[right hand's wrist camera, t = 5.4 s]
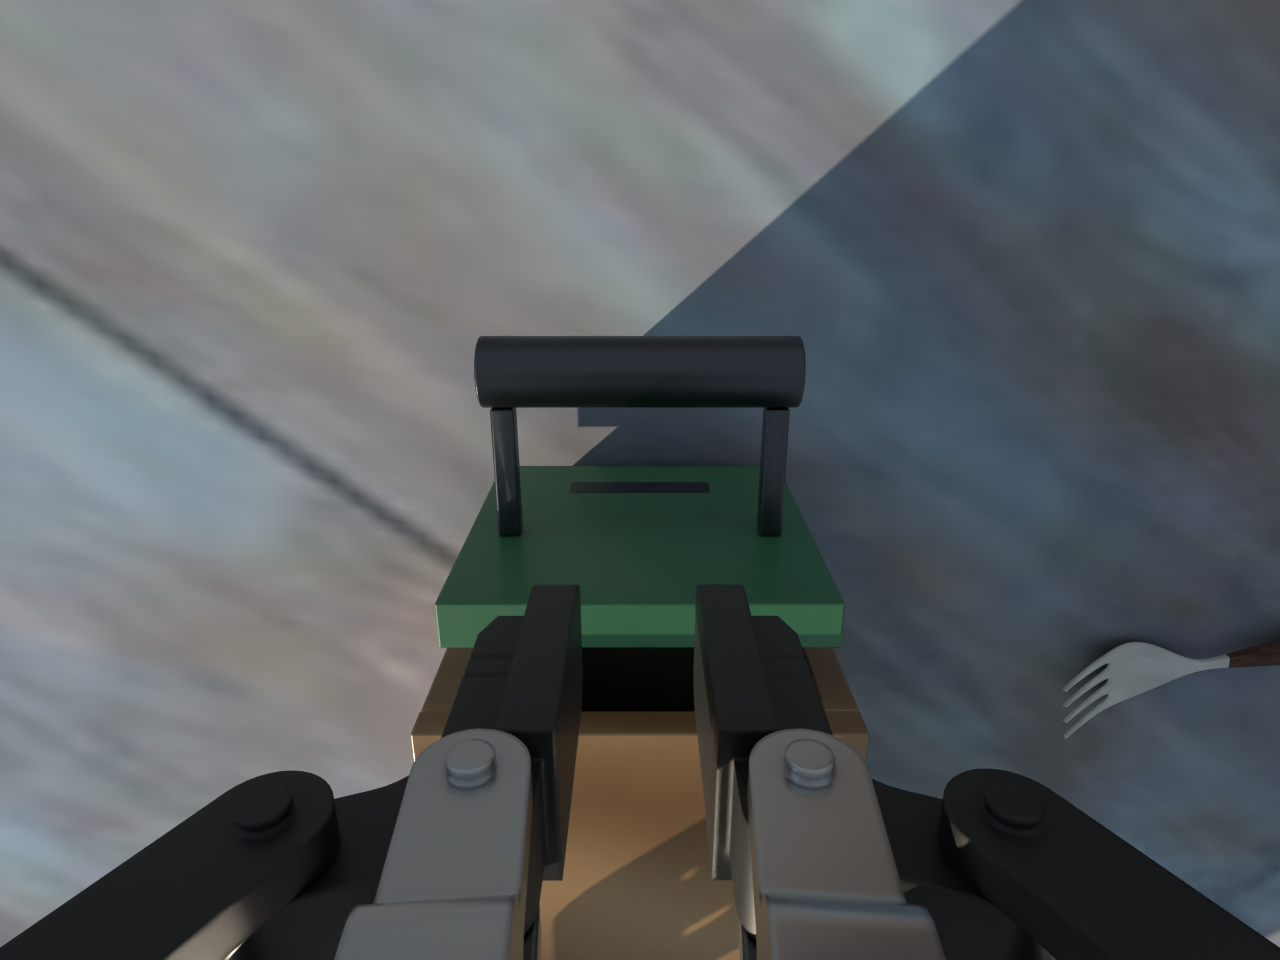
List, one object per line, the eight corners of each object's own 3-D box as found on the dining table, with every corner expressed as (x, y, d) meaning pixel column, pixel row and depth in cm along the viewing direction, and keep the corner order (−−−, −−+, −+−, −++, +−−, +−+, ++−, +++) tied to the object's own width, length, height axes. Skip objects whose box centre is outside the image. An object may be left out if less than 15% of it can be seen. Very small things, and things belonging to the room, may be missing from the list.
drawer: (490, 304, 25) (409, 372, 16) (788, 304, 25) (870, 371, 16) (524, 806, 32) (480, 1042, 23) (755, 806, 32) (799, 1042, 23)
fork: (1460, 642, 30) (1515, 673, 28) (1038, 710, 31) (1063, 743, 29) (1473, 583, 29) (1529, 611, 27) (1037, 654, 30) (1063, 686, 28)
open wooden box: (493, 531, 29) (409, 733, 18) (786, 531, 29) (870, 733, 18) (517, 864, 34) (464, 1165, 24) (761, 864, 34) (815, 1165, 24)
